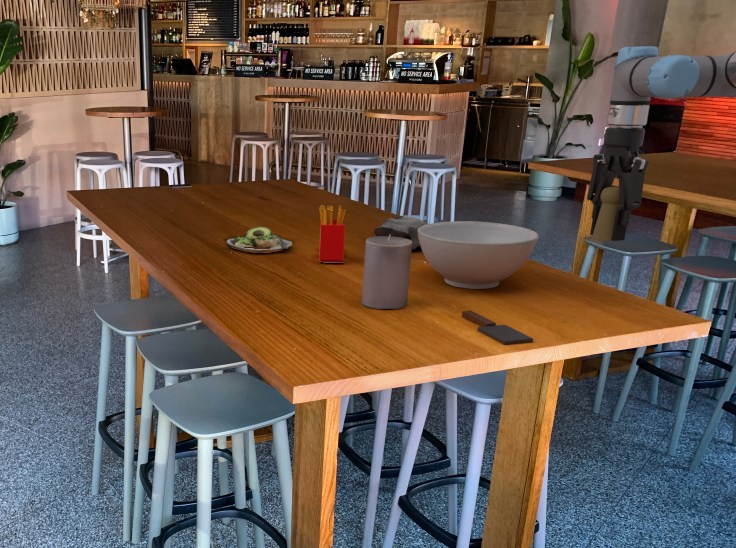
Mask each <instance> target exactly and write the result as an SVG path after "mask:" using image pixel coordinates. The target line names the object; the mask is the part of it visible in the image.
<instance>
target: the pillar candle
mask: <svg viewBox="0 0 736 548" xmlns="http://www.w3.org/2000/svg"><path fill="white" fill-rule="evenodd" d="M390 235H391V234H390ZM390 235H389V236H380V237H378V236H371V237H368V238H366V240H365V245H364V246H365V248H364V263H363V275H362V276H363V277H362V288H361V305H363V306H365V307H368V308H371V309H377V310H400V309H404V308H405V307H406V306H407V305H408V304H407V303H408V298H409V288H410V287H409V285H410V273H411V263H412V262H411V261H412V251H413V250H412V241H411V240H409V239H406V238H400V237H390Z"/></svg>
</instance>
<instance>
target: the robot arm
mask: <svg viewBox="0 0 736 548" xmlns="http://www.w3.org/2000/svg"><path fill="white" fill-rule="evenodd" d="M659 53H660V51H659V48H658V47H657V46H653V45H651V46H650V45H648V46H644V45H643V46H642V45H641V46H640V45H639V46H625V47H622V48H620V50H619V51H618V53H617V58H616V64H615V65H614V68H613V69H614V72H613V78H612V86H611V92H610V98H609V106H608V107H609V108H608V112H607V118H606V124H607V125H608V126H609V127H606V128H605V129H604V136H603V141H602V144H603V146H604V147H605V150H604V152H603V153H601V154H600V153H599V154H594V155H593V157H592V158H593V161H592V162H593V166H592V171H591V176H590V181H589V185H588V186H589V187H588V190H587V196H586V199H587V201H590V202H591V204H592V205H593V206H592V212H591V227H590V233H589V235H590V236H592V235H593V232H594V229H595V225H596V222H597V219H598V215H599V212H600V209H601V206H602V201H601V193H602V191H603V189H605V188H608V187H613V183H614V181H615V179H616V178H617V179H618V187H619V197H620V207H619V208H617V209H618V210H616V216H615V222H614V228H613V234H612V239H611V240H613V241H612V242H620V241H625V239H626V234H627V233H626V232H627V228H628V226H629V225H630V219H631V216H632V215H631V214H632V211H633V210H634V209H639V208H640V207H641V206H642V199H643V191H644V190H643V189H644V183H645V175H646V170H647V168H648V165H649V162H650V161H649V159H648V158H641V157H640V155H639V148H640V147H642V146H643V144H644V138H645V133H646V129H645V128H644V127H643V126H646V125H647V123H648V117H649V111H650V104H651V99H652V98H660V99H676V98H729V99H733V98H734V99H735V98H736V51H733V52H731V53H728V54H724V55H684V54H668V55H660V54H659ZM659 55H660V56H659ZM619 240H620V241H619Z"/></svg>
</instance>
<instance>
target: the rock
mask: <svg viewBox="0 0 736 548" xmlns="http://www.w3.org/2000/svg"><path fill="white" fill-rule="evenodd" d="M427 224H429V223H428V222H427V221H424V220H421V219H419V218H418V217H417V218H416V217H414V216H408V215H407V216H406V215H398V216H397V217H395V218H393V217H390V218H389V217H388V218H386V219H384V221H383V222H382V224H381V225H380V226H378V227H375V228H374V230H373V233H374V235H375V237H380V236H389V235H390V234H391V235H390V237H400V238H406V239H409V240H411V241H412V250H411V251H413V250H416V249H417V248H418V247H420V242H419V238H418V228H419V227H421V226H423V225H427Z"/></svg>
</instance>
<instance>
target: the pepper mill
mask: <svg viewBox="0 0 736 548" xmlns="http://www.w3.org/2000/svg"><path fill="white" fill-rule="evenodd" d="M601 201H602V206H601V209H600V212H599V215H598V219H597V222H596V225H595V229H594V232H593V235H591V239H593V240H596V241H603V242H614V241H613V240H611V239H612V234H613V228H614V222H615V216H616V210H618V209H617V208H619V207H620V197H619V186H611V187H608V188H605V189H603V191H602V193H601ZM620 241H621V240H619V241H618V242H620Z"/></svg>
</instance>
